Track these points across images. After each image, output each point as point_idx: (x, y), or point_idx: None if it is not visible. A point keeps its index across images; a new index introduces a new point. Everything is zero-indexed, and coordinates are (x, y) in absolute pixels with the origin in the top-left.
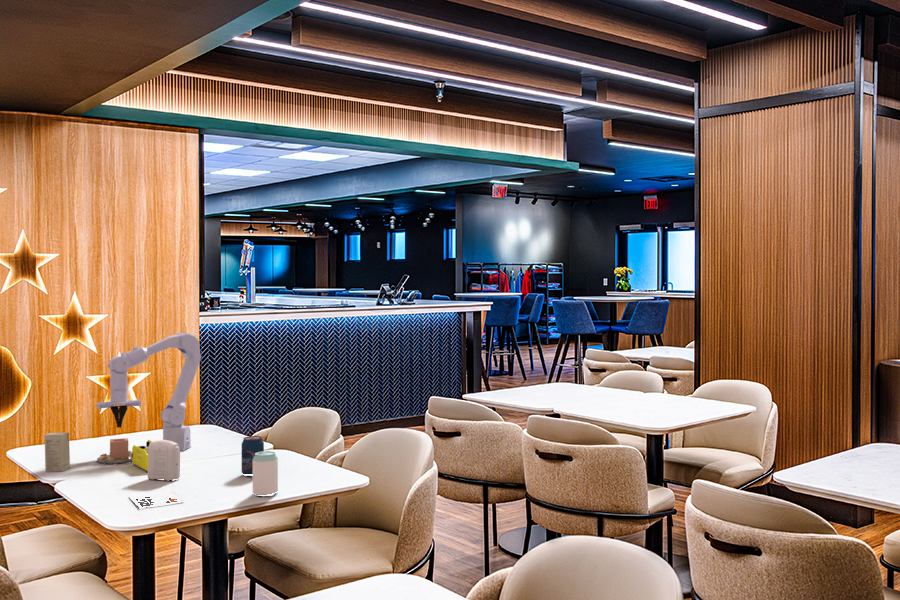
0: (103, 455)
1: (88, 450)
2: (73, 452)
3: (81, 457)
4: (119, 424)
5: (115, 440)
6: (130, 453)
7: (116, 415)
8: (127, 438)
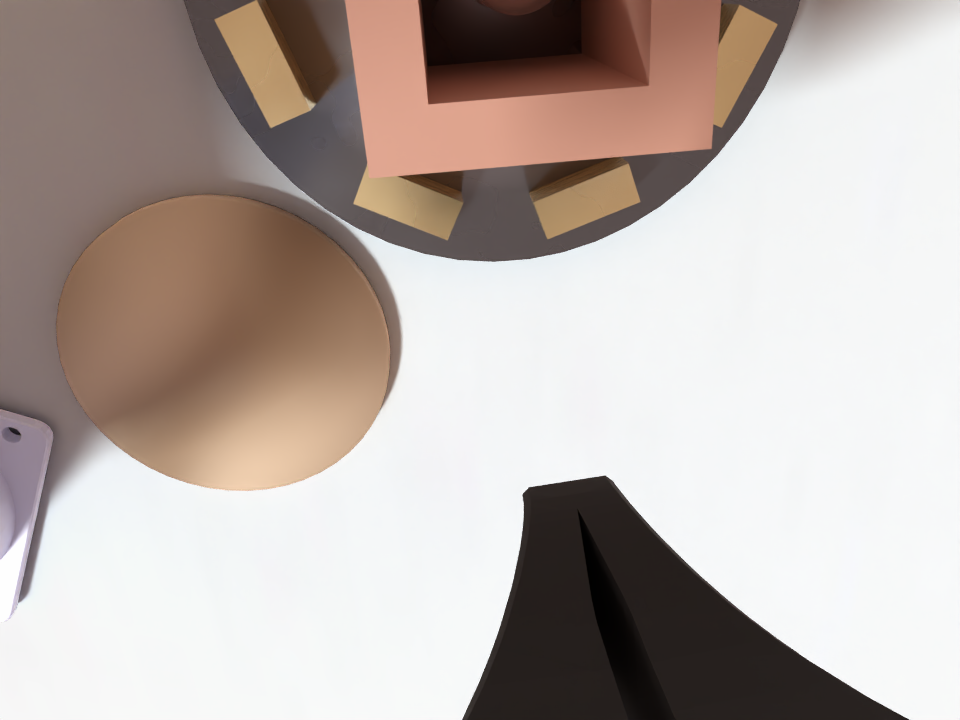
0: (730, 16)
1: (799, 652)
2: (937, 604)
3: (918, 336)
4: (576, 511)
5: (604, 88)
6: (356, 190)
7: (744, 670)
8: (370, 122)
